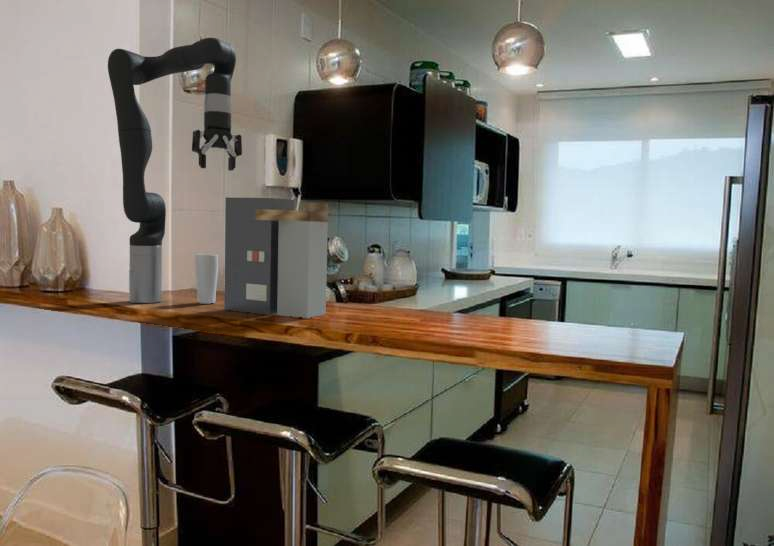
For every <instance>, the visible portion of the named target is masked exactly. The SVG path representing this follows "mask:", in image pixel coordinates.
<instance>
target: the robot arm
mask: <svg viewBox="0 0 774 546" xmlns="http://www.w3.org/2000/svg"><path fill="white" fill-rule="evenodd" d="M236 56H237V55H236V51H235V49H234V47H233V46H232V45H231V44H229V43H228V42H225V41H223V40H221V39H219V38H216V37H204V38H202V39H199V40H198V41H196V42H194V43H192V44H186V45H180V46H175V47H173V48H170V49H168V50H166V51H165V52H164V53H162V54H161V55H158V56H145V55H144V56H143V55H141V54H138V53H136V52H133V51H131V50H127V49H123V48H115V49H113V50H112V51H111V52H110V54H109V55H108V60H107V71H108V76H109V82H110V87H111V91H112V95H113V100H114V101H113V102H114V107H115V115H116V122H117V132H118V133H117V134H118V143H119V149H120V156H121V159H120V161H121V170H122V172H121V173H122V206H123V212H124V214H125V217H126V218H127V219H128V220H129V221H130V222H133V223H135V224H136V223H139V227H138V229H137V231H136V232H135V233H133V234H131V235H130V236H129V270H128V302H129V303H131V304H132V303H133V304H134V303H137V304H152V303H160V302H162V297H163V293H162V291H163V283H162V282H163V275H162V274H163V271H162V269H163V264H162V263H163V261H162V260H163V259H162V258H163V246H162V245H163V239H164V236H165V233H166V232H165V231H166V217H167V216H166V215H167V214H166V213H167V210H166V209H167V208H166V203H165V200H164V198H163V196H161V194H158V193H156V192H147V191H146V185H145V171H146V169H147V166H148V163H149V160H150V159H151V155H152V151H153V137H152V130H151V125H150V123H149V121H148V118H147V116H146V114H145V112H144V111H143V109H142V106H141V104H140V103H139V101H138V99H137V95H136V92H135V86H140V85H144V84H146V83H149V82H153V81H154V80H157V79H160V78H163V77H167V76H169V75H174V74H179V73H187V72H193V71H197V70H200V69H203V68H204V67H205V66H206V64H207V65H208V64H210V65H213V66H214V70H213V72H211V73H208V74H207V75H206V76H205V83H204V84H205V86H204V89H205V90H204V93H205V95H204V103H203V106H204V107H203V129H204V130H202V131H201V130H200V129H194V130H193V131H192V142H191V151H192V152H193V153H195V154H196V153H197V155H198V166H199V167H200V168H201V169H206V168H207V155H206V153H207V152H208V150H209V149H210V148H212V149H214V148H217V149H223V151H225V152H226V154H227V156H228V158H227V161H228V165H227V166H228V167H227V169H228V171H235V169H236V164H237V163H236V160H237V159H236V158H237V157H239V156H242V155H243V148H242V147H243V141H242V135H241V134H236V135H235V134H232V132H231V131H232V130H231V129H232V112H233V111H232V99H231V98H232V97H231V95H232V94H231V93H232V91H231V88H232V87H231V85H232V84H231V82H232V79H233V76H234V72H235V68H236V63H237V57H236ZM202 138H203V139H204V140H205V141H204V143H202V144H201V139H202ZM231 141H232V142H233V145H232V143H230V142H231ZM200 146H201V147H200Z"/></svg>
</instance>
